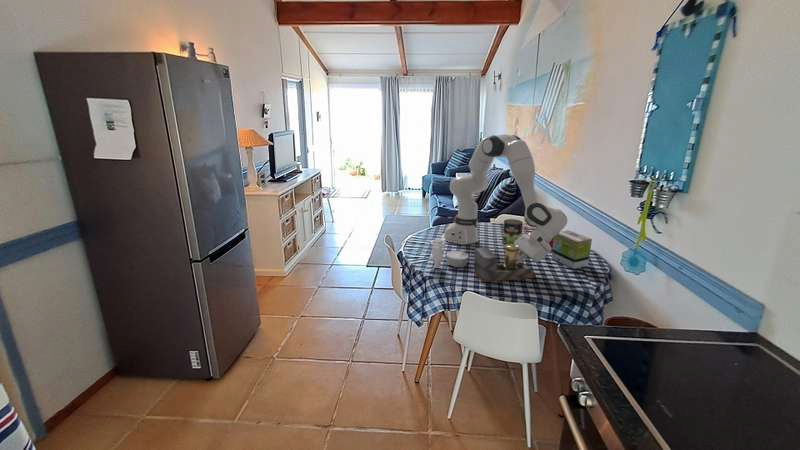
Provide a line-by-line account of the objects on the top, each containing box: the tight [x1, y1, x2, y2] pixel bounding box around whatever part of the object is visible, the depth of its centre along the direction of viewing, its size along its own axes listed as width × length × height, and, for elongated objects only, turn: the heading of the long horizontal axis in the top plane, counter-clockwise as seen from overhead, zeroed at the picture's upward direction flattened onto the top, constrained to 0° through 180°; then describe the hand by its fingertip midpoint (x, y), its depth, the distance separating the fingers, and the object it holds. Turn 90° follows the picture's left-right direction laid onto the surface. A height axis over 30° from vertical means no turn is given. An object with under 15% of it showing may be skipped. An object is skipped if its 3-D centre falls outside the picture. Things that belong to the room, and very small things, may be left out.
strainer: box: [430, 238, 446, 268], centre depth 182 cm, size 7×7×15 cm
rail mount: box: [473, 247, 537, 283], centre depth 174 cm, size 26×12×12 cm, turn 99°
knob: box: [500, 244, 519, 271], centre depth 174 cm, size 6×6×12 cm
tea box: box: [551, 229, 593, 270], centre depth 188 cm, size 15×10×15 cm, turn 23°
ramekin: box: [445, 250, 470, 268], centre depth 188 cm, size 11×11×5 cm
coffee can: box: [501, 218, 524, 247], centre depth 213 cm, size 10×10×14 cm
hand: (516, 260), depth 175 cm, fingers closed, pressing on knob
